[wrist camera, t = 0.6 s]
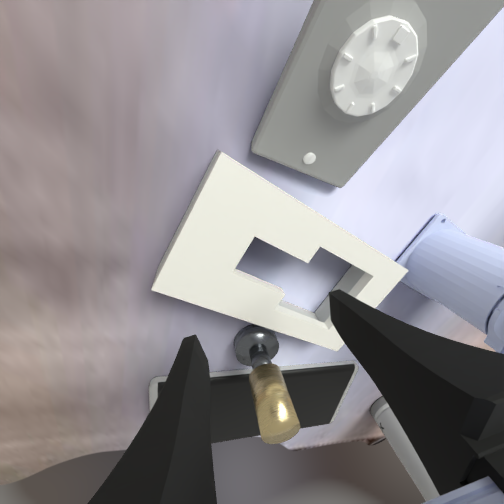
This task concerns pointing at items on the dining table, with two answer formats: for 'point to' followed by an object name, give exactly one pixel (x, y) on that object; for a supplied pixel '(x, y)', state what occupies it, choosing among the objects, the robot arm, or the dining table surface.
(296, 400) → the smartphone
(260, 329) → the peg
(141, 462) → the robot arm
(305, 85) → the light switch
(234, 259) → the keyhole board
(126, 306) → the dining table surface
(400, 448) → the travel mug
